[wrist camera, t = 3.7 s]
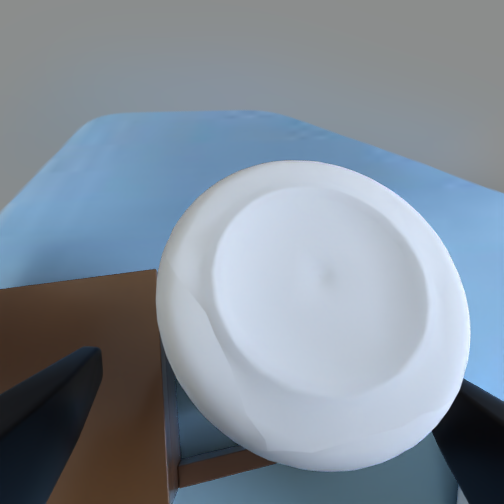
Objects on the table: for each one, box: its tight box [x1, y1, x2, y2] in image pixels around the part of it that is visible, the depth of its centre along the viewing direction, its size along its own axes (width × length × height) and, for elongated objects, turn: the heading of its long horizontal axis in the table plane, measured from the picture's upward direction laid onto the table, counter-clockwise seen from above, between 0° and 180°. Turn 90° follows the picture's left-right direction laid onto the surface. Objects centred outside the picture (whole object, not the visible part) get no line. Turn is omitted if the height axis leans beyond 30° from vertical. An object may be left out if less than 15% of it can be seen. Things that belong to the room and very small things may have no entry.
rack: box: [0, 269, 276, 504], centre depth 14 cm, size 9×17×4 cm, turn 101°
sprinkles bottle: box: [156, 160, 471, 472], centre depth 10 cm, size 5×5×14 cm
